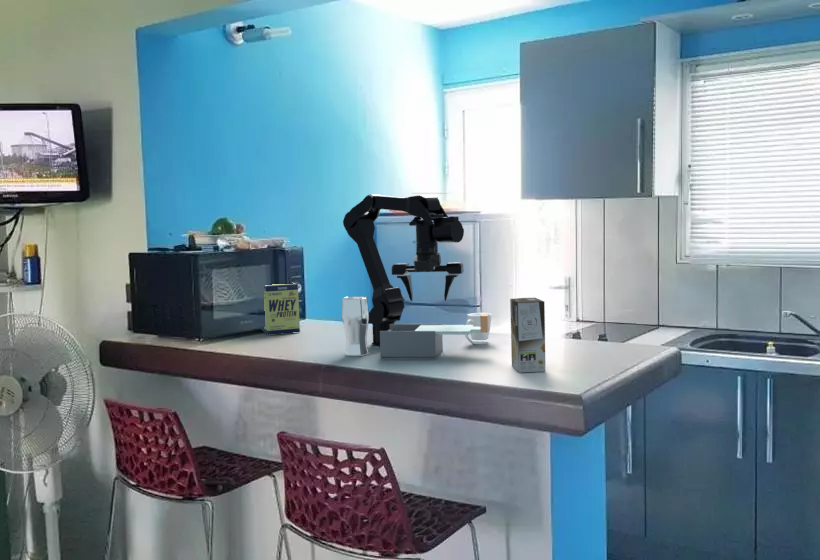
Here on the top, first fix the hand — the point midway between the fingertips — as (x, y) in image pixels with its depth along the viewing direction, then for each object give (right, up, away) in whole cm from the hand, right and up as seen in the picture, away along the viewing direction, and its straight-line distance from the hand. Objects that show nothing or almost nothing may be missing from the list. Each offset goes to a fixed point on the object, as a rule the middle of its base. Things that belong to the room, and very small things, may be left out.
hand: (428, 300), depth 215 cm
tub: (-4, -14, -8) cm, 17 cm away
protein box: (-47, -11, +43) cm, 65 cm away
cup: (+14, -12, +7) cm, 20 cm away
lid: (+6, -8, -11) cm, 14 cm away
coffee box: (+22, -15, -30) cm, 40 cm away
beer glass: (-19, -14, -5) cm, 24 cm away
